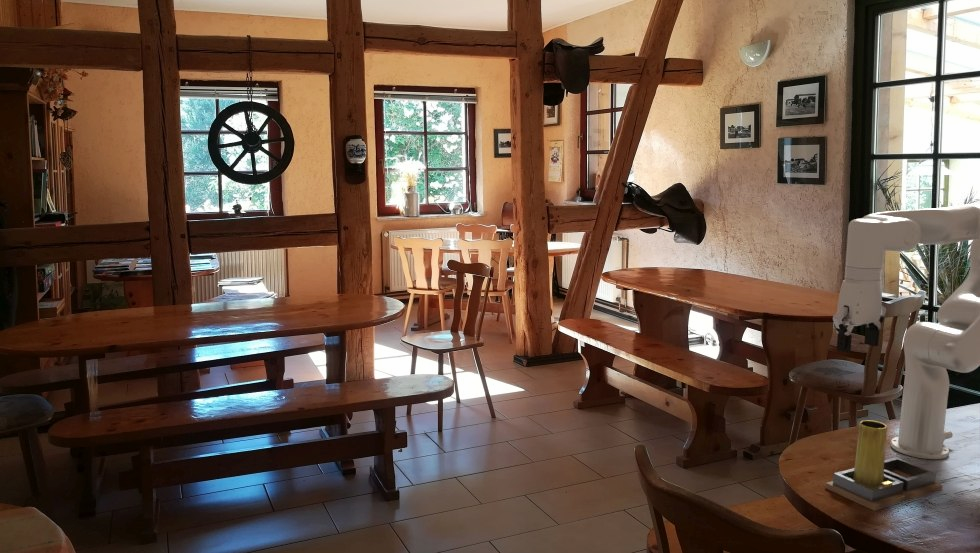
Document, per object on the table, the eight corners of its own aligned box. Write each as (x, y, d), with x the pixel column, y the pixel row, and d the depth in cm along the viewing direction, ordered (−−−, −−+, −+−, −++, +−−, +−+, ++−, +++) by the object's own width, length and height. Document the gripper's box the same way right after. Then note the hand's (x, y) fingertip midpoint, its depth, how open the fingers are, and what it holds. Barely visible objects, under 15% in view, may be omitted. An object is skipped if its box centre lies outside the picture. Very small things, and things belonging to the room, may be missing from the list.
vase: (886, 495, 168) (892, 430, 166) (854, 492, 170) (860, 427, 167) (879, 483, 174) (885, 420, 172) (848, 481, 175) (854, 418, 173)
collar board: (892, 469, 185) (892, 464, 184) (941, 490, 174) (942, 485, 174) (825, 488, 174) (825, 482, 174) (874, 510, 164) (874, 505, 164)
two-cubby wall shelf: (895, 467, 183) (896, 454, 183) (935, 483, 175) (936, 469, 174) (832, 484, 174) (834, 470, 173) (871, 502, 165) (873, 488, 165)
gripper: (872, 268, 188) (867, 339, 191) (823, 275, 180) (818, 349, 183) (902, 273, 182) (896, 346, 185) (852, 280, 174) (847, 357, 177)
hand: (857, 348), depth 184 cm, fingers open, 9 cm apart
